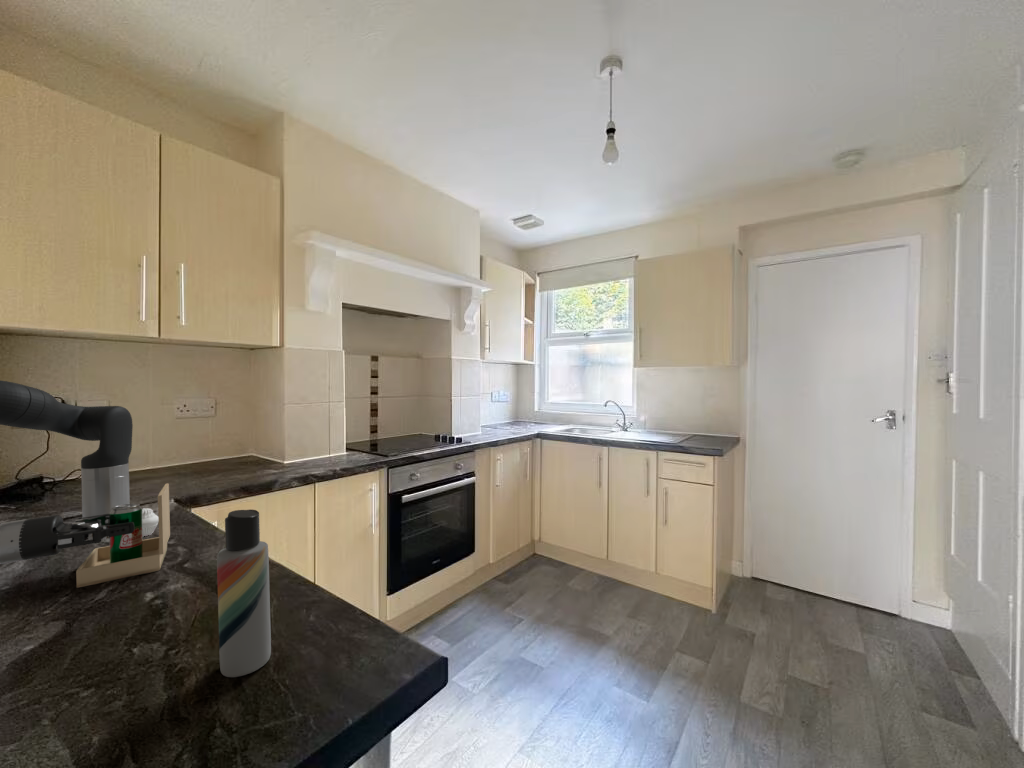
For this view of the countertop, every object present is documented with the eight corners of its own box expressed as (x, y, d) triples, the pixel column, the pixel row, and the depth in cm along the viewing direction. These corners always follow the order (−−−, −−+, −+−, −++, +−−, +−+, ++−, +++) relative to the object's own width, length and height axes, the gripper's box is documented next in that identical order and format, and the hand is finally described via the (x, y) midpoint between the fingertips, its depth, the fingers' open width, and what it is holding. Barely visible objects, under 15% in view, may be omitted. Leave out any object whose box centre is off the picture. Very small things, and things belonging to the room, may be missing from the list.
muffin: (152, 529, 112) (151, 503, 112) (164, 532, 109) (164, 505, 109) (122, 537, 106) (122, 510, 106) (135, 541, 103) (135, 512, 103)
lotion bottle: (235, 651, 58) (232, 506, 58) (279, 648, 58) (275, 504, 58) (209, 680, 52) (205, 519, 52) (257, 676, 52) (253, 516, 53)
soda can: (122, 569, 85) (121, 509, 85) (103, 567, 86) (102, 508, 86) (148, 559, 90) (148, 503, 90) (130, 558, 91) (129, 502, 91)
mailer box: (95, 563, 90) (93, 492, 90) (170, 548, 97) (168, 483, 97) (76, 587, 79) (74, 506, 79) (163, 569, 86) (161, 495, 86)
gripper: (8, 529, 74) (131, 511, 83) (37, 511, 86) (142, 497, 95) (9, 572, 74) (132, 549, 83) (38, 548, 85) (143, 530, 95)
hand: (137, 521), depth 89 cm, fingers open, 8 cm apart
